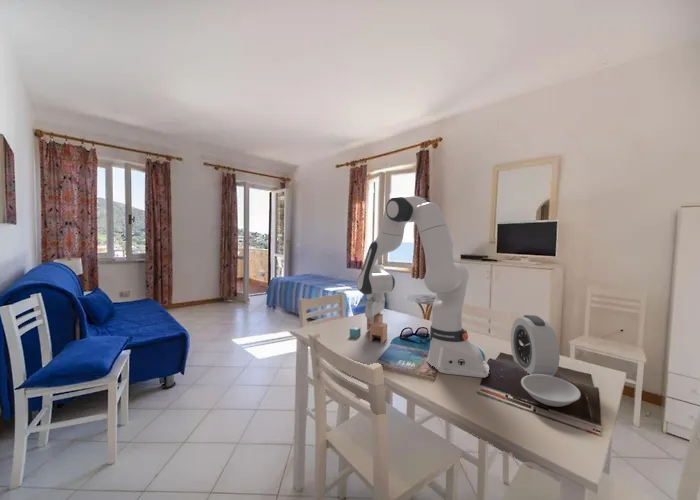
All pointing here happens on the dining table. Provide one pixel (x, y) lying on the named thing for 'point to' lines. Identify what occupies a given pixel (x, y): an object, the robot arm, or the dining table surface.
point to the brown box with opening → (378, 331)
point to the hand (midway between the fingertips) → (374, 322)
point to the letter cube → (355, 332)
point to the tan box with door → (375, 320)
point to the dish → (550, 389)
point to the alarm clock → (535, 345)
